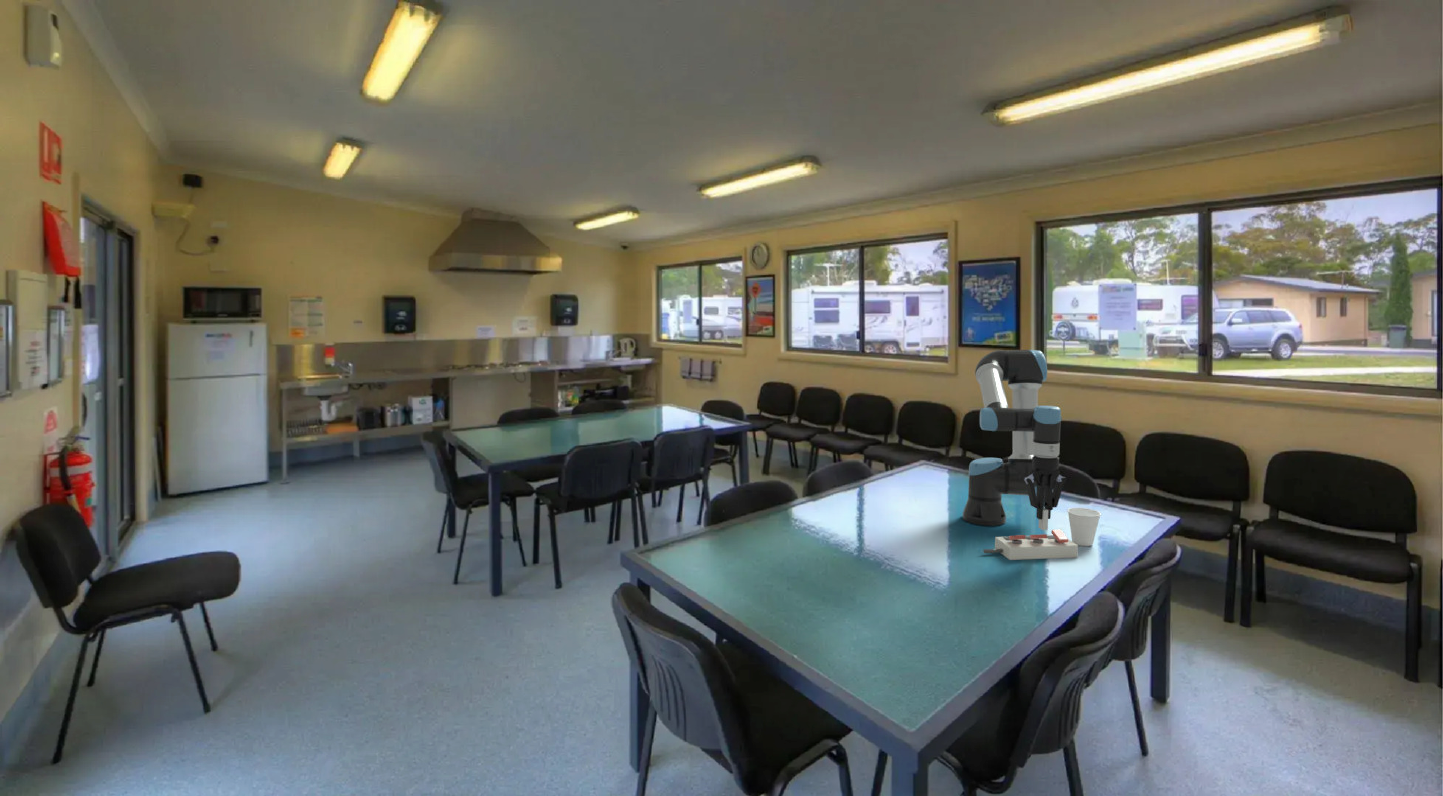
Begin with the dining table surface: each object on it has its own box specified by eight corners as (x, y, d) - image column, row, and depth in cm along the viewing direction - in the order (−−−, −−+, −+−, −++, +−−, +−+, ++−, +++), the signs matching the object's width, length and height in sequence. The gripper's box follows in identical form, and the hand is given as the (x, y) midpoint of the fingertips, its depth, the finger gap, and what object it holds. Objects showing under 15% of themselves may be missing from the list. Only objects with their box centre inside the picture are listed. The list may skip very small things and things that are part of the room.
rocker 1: (1009, 539, 209) (1008, 535, 210) (1017, 539, 209) (1017, 535, 210) (1016, 539, 204) (1016, 535, 205) (1025, 539, 204) (1024, 534, 205)
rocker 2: (1030, 538, 210) (1030, 534, 210) (1039, 538, 210) (1038, 534, 210) (1038, 538, 205) (1037, 534, 205) (1047, 538, 205) (1046, 534, 205)
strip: (977, 549, 214) (977, 534, 213) (1059, 546, 215) (1060, 531, 214) (991, 560, 204) (991, 545, 203) (1077, 557, 205) (1078, 542, 204)
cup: (1104, 549, 211) (1105, 516, 210) (1071, 547, 213) (1072, 515, 212) (1093, 539, 221) (1094, 507, 220) (1061, 537, 223) (1063, 506, 222)
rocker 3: (1051, 532, 210) (1052, 529, 209) (1059, 532, 210) (1060, 529, 210) (1059, 542, 206) (1060, 539, 205) (1067, 542, 206) (1068, 539, 205)
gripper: (1031, 458, 198) (1028, 533, 200) (1073, 457, 198) (1069, 532, 201) (1019, 453, 205) (1016, 525, 208) (1059, 452, 206) (1056, 524, 208)
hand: (1042, 528), depth 204 cm, fingers closed
